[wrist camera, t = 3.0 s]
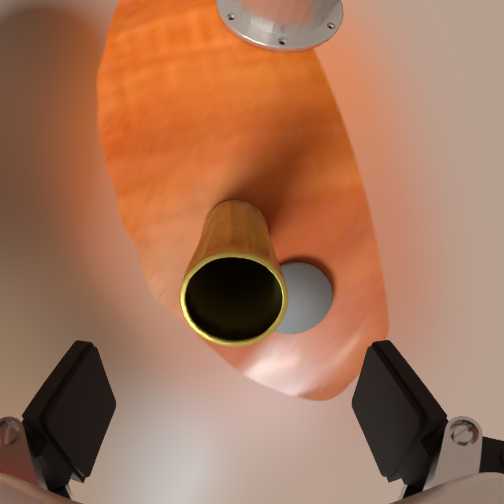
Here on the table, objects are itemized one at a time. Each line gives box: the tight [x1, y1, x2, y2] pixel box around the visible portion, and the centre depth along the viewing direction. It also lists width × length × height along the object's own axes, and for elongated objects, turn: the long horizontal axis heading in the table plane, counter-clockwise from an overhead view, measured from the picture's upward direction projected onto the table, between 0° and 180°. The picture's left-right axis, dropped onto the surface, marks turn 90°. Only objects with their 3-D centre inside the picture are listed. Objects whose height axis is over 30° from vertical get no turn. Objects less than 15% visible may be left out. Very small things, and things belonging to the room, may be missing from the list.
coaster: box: [275, 262, 332, 334], centre depth 29 cm, size 8×8×1 cm
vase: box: [179, 200, 288, 347], centre depth 20 cm, size 6×6×14 cm
